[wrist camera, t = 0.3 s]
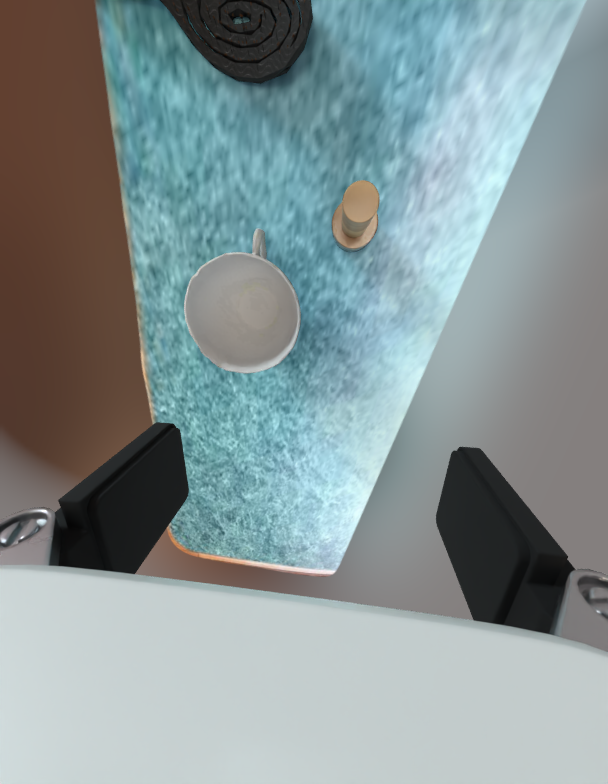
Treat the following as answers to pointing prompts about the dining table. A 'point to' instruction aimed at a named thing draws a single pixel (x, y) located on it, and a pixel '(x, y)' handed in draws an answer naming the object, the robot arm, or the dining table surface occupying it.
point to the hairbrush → (246, 34)
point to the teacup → (243, 310)
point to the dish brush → (356, 216)
